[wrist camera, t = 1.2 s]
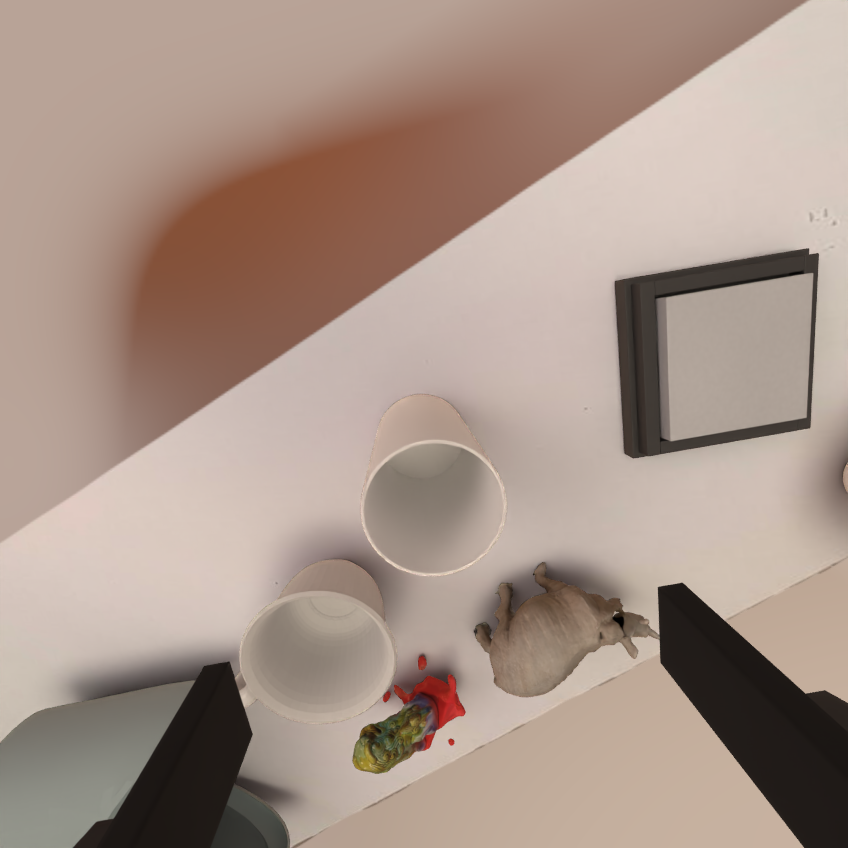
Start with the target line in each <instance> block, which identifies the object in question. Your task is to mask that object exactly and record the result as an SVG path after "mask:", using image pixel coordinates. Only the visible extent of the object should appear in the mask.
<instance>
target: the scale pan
mask: <svg viewBox="0 0 848 848" xmlns="http://www.w3.org/2000/svg"><path fill="white" fill-rule="evenodd" d="M812 291H813V273H807V274H800V275H794V276H788V277H782V278H776V279H770V280H764V281H758V282H752V283H746V284H740V285H735V286H729V287H723V288H717V289H711V290H705V291H699V292H693V293H687V294H681V295H675V296H669V297H664V298H658V299H655V314H656V342H657V369H658V397H659V425H660V437H661V438H664V439H666V440H669V441H675V440H681V439H687V438H693V437H698V436H704V435H710V434H716V433H721V432H727V431H733V430H739V429H745V428H750V427H756V426H762V425H768V424H773V423H779V422H785V421H791V420H796V419H802V418H806V417H807V397H808V376H809V355H810V333H811V312H812Z"/></svg>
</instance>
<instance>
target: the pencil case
mask: <svg viewBox="0 0 848 848" xmlns="http://www.w3.org/2000/svg"><path fill="white" fill-rule="evenodd" d="M195 681H196V680H193V681H184V682H177V683H171V684H165V685H160V686H155V687H150V688H145V689H141V690H136V691H131V692H126V693H122V694H117V695H112V696H108V697H103V698H98V699H92V700H87V701H82V702H77V703H72V704H67V705H62V706H57V707H52V708H47V709H44V710H41V711H38V712H36V713H34V714H33V715H31V716H30V717H28V718H27V719H25V720H24V721H23V722H21V723H20V724H19V725H18V726H17V727H16V728H14V729H13V730H12V731H11V732H10V733H9V734H8V735H7V736H6V737H5V738H4V739H3V740H2V741H1V743H0V848H73V847H74V846H75V845H76V843H77V842H78V841H79V840H80V839H81V838H82V837H83V836H84V835H85V834H86V832H87V831H88V830H89V829H90V828H91V827H92V826H93V825H94V824H95V823H96V822H97V821H103V820H108V819H114V817H115V816H116V814H117V812H118V811H119V809H120V807H121V805H122V804H123V802H124V800H125V799H126V797H127V795H128V794H129V792H130V790H131V789H132V787H133V785H134V784H135V782H136V780H137V778H138V777H139V775H140V773H141V772H142V770H143V768H144V767H145V765H146V763H147V762H148V760H149V758H150V757H151V755H152V753H153V751H154V750H155V748H156V746H157V745H158V743H159V741H160V740H161V738H162V736H163V735H164V733H165V731H166V730H167V728H168V726H169V724H170V723H171V721H172V719H173V718H174V716H175V714H176V713H177V711H178V709H179V708H180V706H181V704H182V703H183V701H184V699H185V697H186V696H187V694H188V692H189V691H190V689H191V687H192V686H193V684H194V682H195ZM211 848H290V838H289V832H288V829H287V827H286V824H285V822H284V821H283V819H282V818H281V817H280V815H279V814H278V813H277V812H276V811H275V810H274V809H273V808H272V807H271V806H270V805H268V804H267V803H266V802H265V801H263V800H262V799H260V798H259V797H257V796H256V795H254V794H253V793H251V792H249V791H247V790H245V789H244V788H242V787H240V786H238V785H236V784H234V786H233V789H232V791H231V794H230V797H229V799H228V802H227V805H226V807H225V810H224V813H223V815H222V818H221V821H220V823H219V826H218V829H217V831H216V834H215V837H214V840H213V842H212V845H211Z"/></svg>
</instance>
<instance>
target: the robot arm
mask: <svg viewBox="0 0 848 848" xmlns="http://www.w3.org/2000/svg"><path fill="white" fill-rule="evenodd" d="M658 604H659V632H660V659H661V664H662V665H663V666H664V668H665V669H666V670H667V671H668V673H669V674H670V675H671V677H672V678H673V679H674V680H675V682H676V683H677V684H678V686H679V687H680V688H681V689H682V691H683V692H684V693H685V695H686V696H687V697H688V698H689V700H690V701H691V702H692V703H693V705H694V706H695V707H696V709H697V710H698V711H699V713H700V714H701V715H702V717H703V718H704V719H705V720H706V722H707V723H708V724H709V725H710V727H711V728H712V729H713V731H714V732H715V733H716V735H717V736H718V737H719V738H720V740H721V741H722V742H723V744H725V746H726V747H727V749H728V750H729V751H730V753H731V754H732V755H733V756H734V758H735V759H736V760H737V762H738V763H739V764H740V765H741V767H742V768H743V769H744V771H745V772H746V773H747V774H748V776H749V777H750V778H751V780H752V781H753V782H754V783H755V785H756V786H757V787H758V789H759V790H760V791H761V793H762V794H763V795H764V796H765V798H766V799H767V800H768V802H769V803H770V804H771V805H772V807H773V808H774V809H775V811H776V812H777V813H778V814H779V816H780V817H781V818H782V820H783V821H784V822H785V823H786V825H787V826H788V827H789V829H790V830H791V831H792V832H793V834H794V835H795V836H796V838H797V839H798V840H799V841H800V843H801V844H802V845H803V847H804V848H848V703H847V702H845V701H843V700H841V699H839V698H838V697H836V696H834V695H832V694H830V693H829V692H827V691H825V690H824V691H819V692H813V693H807V694H805V693H804V692H803V691H802V690H801V689H800V688H798V687H797V686H796V685H795V684H794V683H793V682H792V681H791V680H790V679H789V678H788V677H786V676H785V675H784V674H783V673H782V672H781V671H780V670H779V669H777V668H776V667H775V666H774V665H773V664H772V663H771V662H770V661H769V660H767V659H766V658H765V657H764V656H763V655H762V654H761V653H760V652H759V651H758V650H756V649H755V648H754V647H753V646H752V645H751V644H750V643H749V642H748V641H747V640H745V639H744V638H743V637H742V636H741V635H740V634H739V633H738V632H736V631H735V630H734V629H733V628H732V627H731V626H730V625H729V624H728V623H727V622H725V621H724V620H723V619H722V618H721V617H720V616H719V615H718V614H717V613H715V612H714V611H713V610H712V609H711V608H710V607H709V606H708V605H707V604H705V603H704V602H703V601H702V600H701V599H700V598H699V597H698V596H697V595H696V594H694V593H693V592H692V591H691V590H690V589H689V588H688V587H687V586H686V585H684V584H683V583H678V584H673V585H667V586H661V587H658ZM252 735H253V734H252V731H251V728H250V725H249V721H248V718H247V715H246V712H245V709H244V706H243V702H242V699H241V696H240V693H239V690H238V687H237V683H236V680H235V677H234V674H233V671H232V668H231V664H230V662H224V663H218V664H212V665H207V666H204V667H203V669H202V671H201V672H200V674H199V676H198V677H197V679H196V681H195V682H194V684H193V686H192V687H191V689H190V691H189V692H188V694H187V696H186V697H185V699H184V701H183V703H182V704H181V706H180V708H179V709H178V711H177V713H176V714H175V716H174V718H173V719H172V721H171V723H170V724H169V726H168V728H167V730H166V731H165V733H164V735H163V736H162V738H161V740H160V741H159V743H158V745H157V746H156V748H155V750H154V751H153V753H152V755H151V757H150V758H149V760H148V762H147V763H146V765H145V767H144V768H143V770H142V772H141V773H140V775H139V777H138V778H137V780H136V782H135V784H134V785H133V787H132V789H131V790H130V792H129V794H128V795H127V797H126V799H125V800H124V802H123V804H122V805H121V807H120V809H119V811H118V812H117V814H116V816H115V817H114V819H108V820H103V821H97V822H96V823H95V824H94V825H93V826H92V827H91V828H90V829H89V830H88V831H87V832H86V834H85V835H84V836H83V837H82V838H81V839H80V840H79V841H78V842H77V843H76V845H75V846H74V847H73V848H211V845H212V842H213V840H214V837H215V834H216V831H217V829H218V826H219V823H220V821H221V818H222V815H223V813H224V810H225V807H226V805H227V802H228V799H229V797H230V794H231V791H232V789H233V786H234V783H235V780H236V778H237V775H238V772H239V770H240V767H241V764H242V762H243V759H244V756H245V754H246V751H247V748H248V746H249V743H250V740H251V737H252Z"/></svg>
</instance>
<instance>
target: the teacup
mask: <svg viewBox="0 0 848 848" xmlns="http://www.w3.org/2000/svg"><path fill="white" fill-rule="evenodd" d="M239 663H240V668H241V671H240V672H239V673H238V675H237V676H236V677H235V680H236V683H237V687H238V690H239V693H240V696H241V699H242V702H243V706H244V708H246V707H248V706H250V705H251V704H253V703H254V702H255V701H256V700H257V699H258V700H259V701H260V702H261V703H262V704H263V705H265V706H266V707H267V708H268V709H270V710H271V711H273V712H274V713H276V714H278V715H280V716H282V717H284V718H287V719H290V720H293V721H296V722H301V723H309V724H328V723H335V722H340V721H344V720H347V719H350V718H353V717H355V716H357V715H359V714H361V713H363V712H364V711H366V710H368V709H369V708H371V707H372V706H373V705H374V704H375V703H377V702H378V701H379V699H380V698H381V697H382V696H383V695H384V694H385V692H386V691H387V690H388V688H389V686H390V684H391V682H392V680H393V678H394V675H395V672H396V667H397V648H396V644H395V640H394V638H393V635H392V633H391V631H390V629H389V628H388V626H387V625H386V623H385V614H384V606H383V601H382V597H381V593H380V591H379V589H378V586H377V584H376V583H375V581H374V580H373V578H372V577H371V576H370V575H369V574H368V573H367V572H366V571H365V570H364V569H362V568H361V567H360V566H358V565H356V564H354V563H352V562H350V561H347V560H343V559H333V560H324V561H319V562H316V563H314V564H311V565H309V566H307V567H306V568H304V569H303V570H301V571H300V572H299V573H298V574H297V575H296V576H294V578H293V579H292V580H291V581H290V582H289V584H288V585H287V586H286V587H285V589H284V590H283V591H282V593H281V594H280V596H279V597H278V599H277V600H276V601H274V602H272V603H271V604H269V605H268V606H266V607H265V608H264V609H262V610H261V611H260V612H259V613H258V614H257V615H256V616H255V618H254V619H253V620H252V621H251V623H250V624H249V626H248V627H247V629H246V631H245V633H244V635H243V638H242V641H241V645H240V652H239Z"/></svg>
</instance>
